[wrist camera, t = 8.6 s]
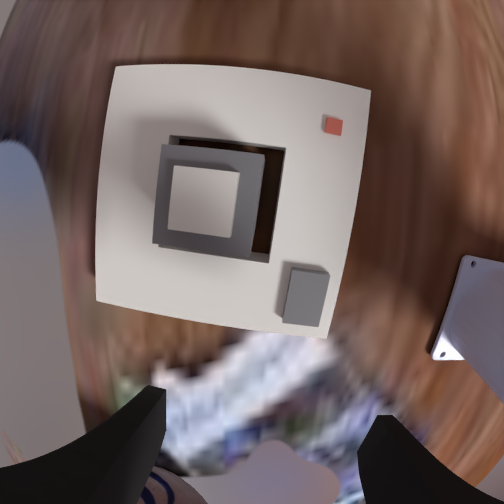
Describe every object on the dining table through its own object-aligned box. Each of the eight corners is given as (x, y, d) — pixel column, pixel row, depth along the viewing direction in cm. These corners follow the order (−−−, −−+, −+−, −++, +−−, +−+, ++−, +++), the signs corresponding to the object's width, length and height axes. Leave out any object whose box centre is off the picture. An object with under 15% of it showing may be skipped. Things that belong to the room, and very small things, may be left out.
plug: (264, 161, 17) (263, 153, 11) (255, 230, 18) (248, 261, 12) (195, 153, 17) (156, 142, 11) (187, 221, 18) (146, 246, 12)
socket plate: (360, 98, 16) (374, 87, 13) (321, 323, 19) (328, 344, 17) (129, 75, 16) (111, 63, 14) (110, 289, 19) (92, 304, 17)
